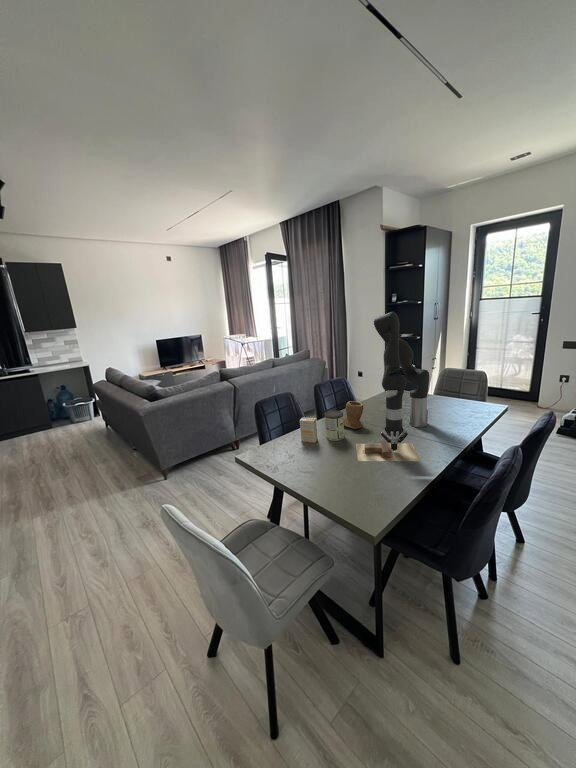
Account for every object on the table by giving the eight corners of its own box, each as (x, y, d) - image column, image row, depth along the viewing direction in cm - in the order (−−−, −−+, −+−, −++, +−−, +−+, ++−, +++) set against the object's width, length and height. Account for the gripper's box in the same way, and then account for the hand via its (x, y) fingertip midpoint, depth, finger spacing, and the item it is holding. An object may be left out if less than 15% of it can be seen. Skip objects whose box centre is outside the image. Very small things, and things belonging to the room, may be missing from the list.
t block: (388, 446, 155) (388, 440, 154) (391, 457, 144) (391, 452, 143) (364, 445, 158) (364, 440, 157) (364, 457, 146) (364, 451, 146)
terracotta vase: (368, 425, 184) (367, 402, 180) (354, 431, 177) (354, 407, 174) (349, 419, 196) (348, 397, 192) (335, 425, 189) (334, 402, 185)
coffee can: (327, 432, 180) (326, 409, 176) (345, 433, 176) (344, 410, 173) (324, 440, 170) (322, 416, 167) (342, 441, 167) (341, 417, 163)
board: (412, 445, 156) (412, 443, 156) (421, 463, 139) (421, 461, 139) (355, 445, 161) (355, 443, 161) (357, 462, 144) (357, 461, 143)
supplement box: (317, 439, 171) (316, 418, 168) (315, 443, 167) (313, 421, 164) (304, 438, 175) (302, 416, 171) (301, 442, 171) (299, 420, 167)
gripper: (407, 413, 147) (406, 446, 151) (378, 414, 149) (378, 446, 153) (410, 419, 139) (410, 453, 144) (380, 419, 142) (381, 453, 146)
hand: (394, 450), depth 148 cm, fingers closed
